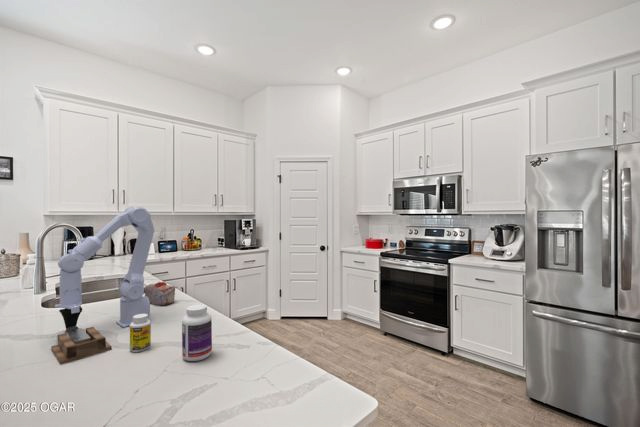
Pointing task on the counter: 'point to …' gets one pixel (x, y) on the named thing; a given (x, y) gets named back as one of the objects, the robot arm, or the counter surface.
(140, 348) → the supplement bottle
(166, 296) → the food item
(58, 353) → the housing
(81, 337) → the door stop
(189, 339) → the pill bottle
